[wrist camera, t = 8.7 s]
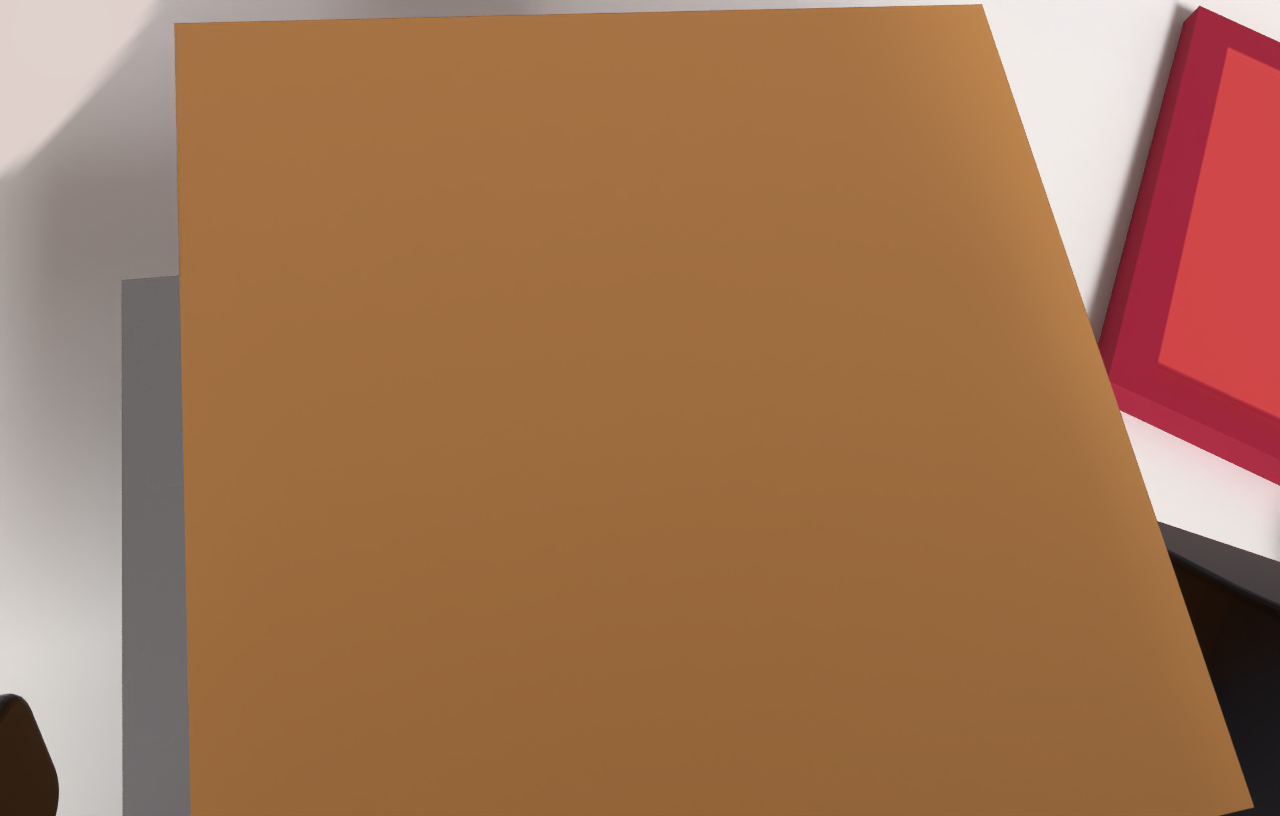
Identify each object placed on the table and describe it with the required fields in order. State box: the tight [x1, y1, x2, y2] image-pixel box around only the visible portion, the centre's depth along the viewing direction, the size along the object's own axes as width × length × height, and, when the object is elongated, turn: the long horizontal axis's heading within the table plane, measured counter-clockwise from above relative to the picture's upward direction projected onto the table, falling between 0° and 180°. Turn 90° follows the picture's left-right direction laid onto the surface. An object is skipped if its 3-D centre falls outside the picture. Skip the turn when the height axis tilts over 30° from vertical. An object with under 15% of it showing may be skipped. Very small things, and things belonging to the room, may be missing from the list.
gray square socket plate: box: [122, 276, 191, 816], centre depth 15 cm, size 12×12×2 cm
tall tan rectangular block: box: [174, 4, 1254, 816], centre depth 10 cm, size 5×5×12 cm
